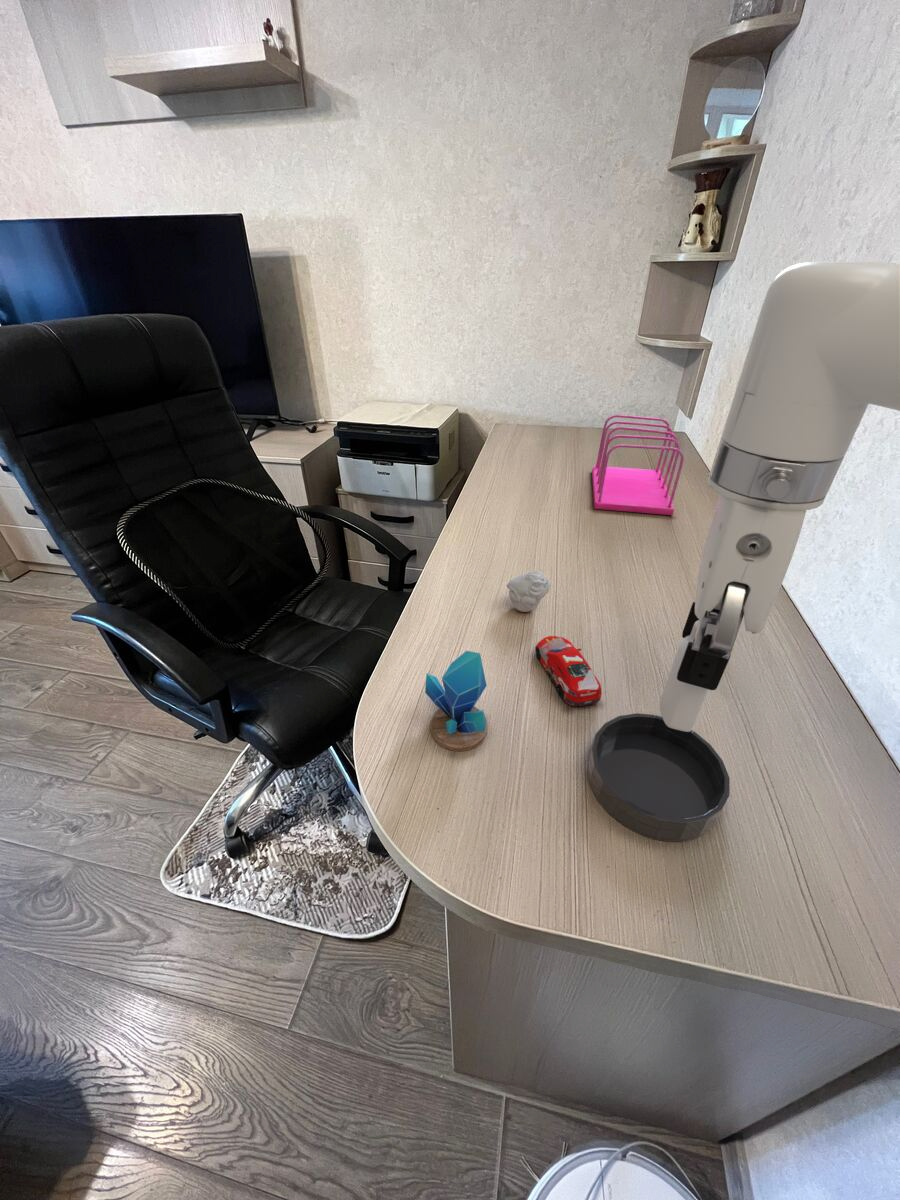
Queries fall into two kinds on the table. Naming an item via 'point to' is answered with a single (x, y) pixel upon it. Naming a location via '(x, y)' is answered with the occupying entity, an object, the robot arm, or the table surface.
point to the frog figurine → (528, 590)
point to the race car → (568, 671)
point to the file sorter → (635, 474)
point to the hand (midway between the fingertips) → (697, 659)
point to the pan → (657, 778)
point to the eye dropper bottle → (683, 691)
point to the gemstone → (458, 704)
